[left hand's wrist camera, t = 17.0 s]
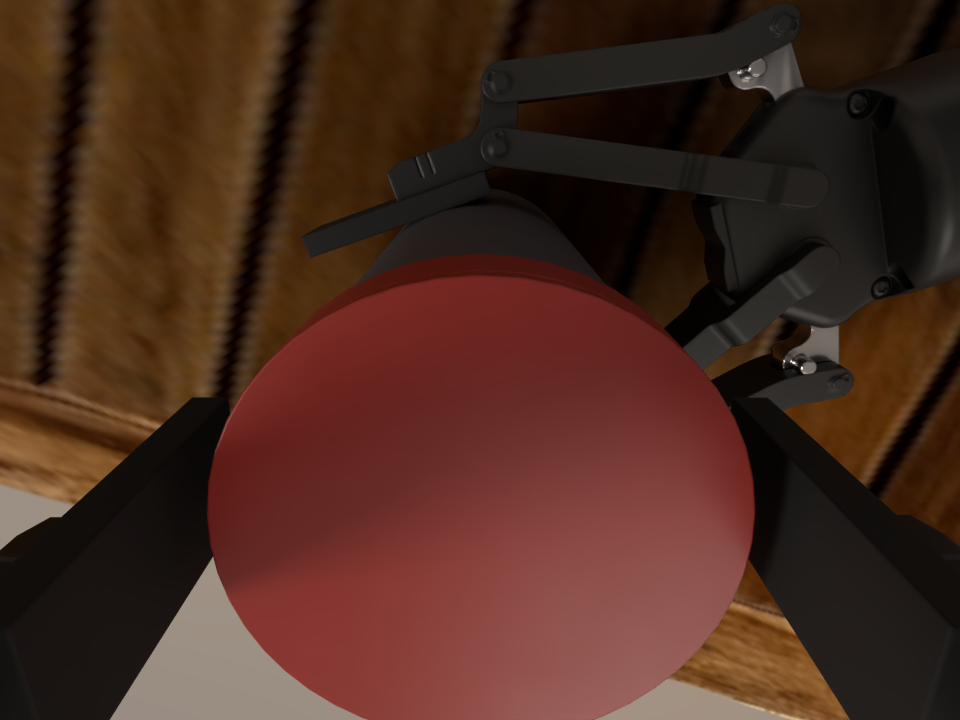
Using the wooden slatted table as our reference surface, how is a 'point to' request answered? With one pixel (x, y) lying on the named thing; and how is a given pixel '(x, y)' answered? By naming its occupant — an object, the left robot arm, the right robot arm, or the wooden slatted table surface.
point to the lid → (481, 497)
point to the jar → (483, 236)
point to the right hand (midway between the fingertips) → (367, 358)
